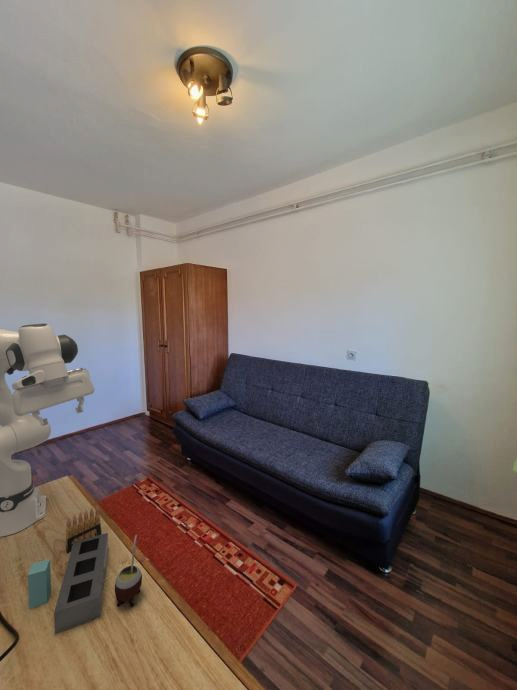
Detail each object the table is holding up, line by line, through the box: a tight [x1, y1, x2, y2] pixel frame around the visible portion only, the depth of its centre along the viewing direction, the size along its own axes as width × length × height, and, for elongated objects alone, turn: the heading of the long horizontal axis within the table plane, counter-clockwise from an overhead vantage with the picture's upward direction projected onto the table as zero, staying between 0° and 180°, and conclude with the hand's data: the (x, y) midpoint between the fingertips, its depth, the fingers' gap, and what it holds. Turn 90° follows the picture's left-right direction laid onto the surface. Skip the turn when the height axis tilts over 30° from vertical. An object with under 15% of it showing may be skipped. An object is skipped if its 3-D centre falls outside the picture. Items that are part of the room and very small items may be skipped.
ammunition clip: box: [65, 505, 102, 554], centre depth 97 cm, size 11×2×12 cm, turn 137°
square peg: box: [27, 558, 52, 609], centre depth 77 cm, size 4×4×10 cm
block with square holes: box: [53, 532, 109, 635], centre depth 82 cm, size 24×10×6 cm, turn 24°
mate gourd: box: [114, 534, 143, 609], centre depth 78 cm, size 8×8×15 cm
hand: (63, 418), depth 84 cm, fingers open, 8 cm apart
